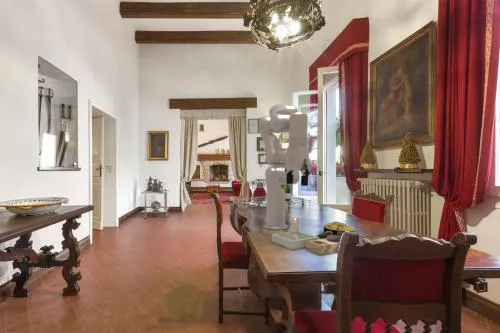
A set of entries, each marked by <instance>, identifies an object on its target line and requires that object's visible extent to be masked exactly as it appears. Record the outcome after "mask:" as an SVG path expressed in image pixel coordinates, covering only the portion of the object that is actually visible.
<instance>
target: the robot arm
mask: <svg viewBox="0 0 500 333" xmlns="http://www.w3.org/2000/svg"><path fill="white" fill-rule="evenodd" d="M268 115H269V116H264V117H261V119H260V120H259V124H258V125H259V129H258V130H259V134H260V137H261V139H262V141H263V145H264V152H265V160H266V163H267V165H269V166H268V167H267V168H266V169H265V171H264V172H265V173H264V174H265V182H266V183H265V185H266V216H265V218H263V220H264V221H265V223H264V224H263V229H267V230H275V231H276V230H277V231H278V230H287V229H288V228H289V225H288V224H286V191H285V190H284V188H283V187H282V185H287V186H289V185H296V184H297V185H298V183H299V181H300V186H301V187H308V186H309V177H310V175H311V172H312V169H313V164H312V163H311V162H310V161H309V160H310V159H309V158H310V157H309V148H308V118H309V117H308V114H307V113H305V112H301V111H300V112H299V110H298V108H297V106H295V105H293V104H282V103H281V104H274V105H272V106H271V107H270V109H269V112H268ZM274 133H286V134H287V133H288V146H287V148H285V147H284V148H282V147H281V141H280V139H279V138H278V137H277V135H275V134H274ZM300 173H301V176H300Z"/></svg>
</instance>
